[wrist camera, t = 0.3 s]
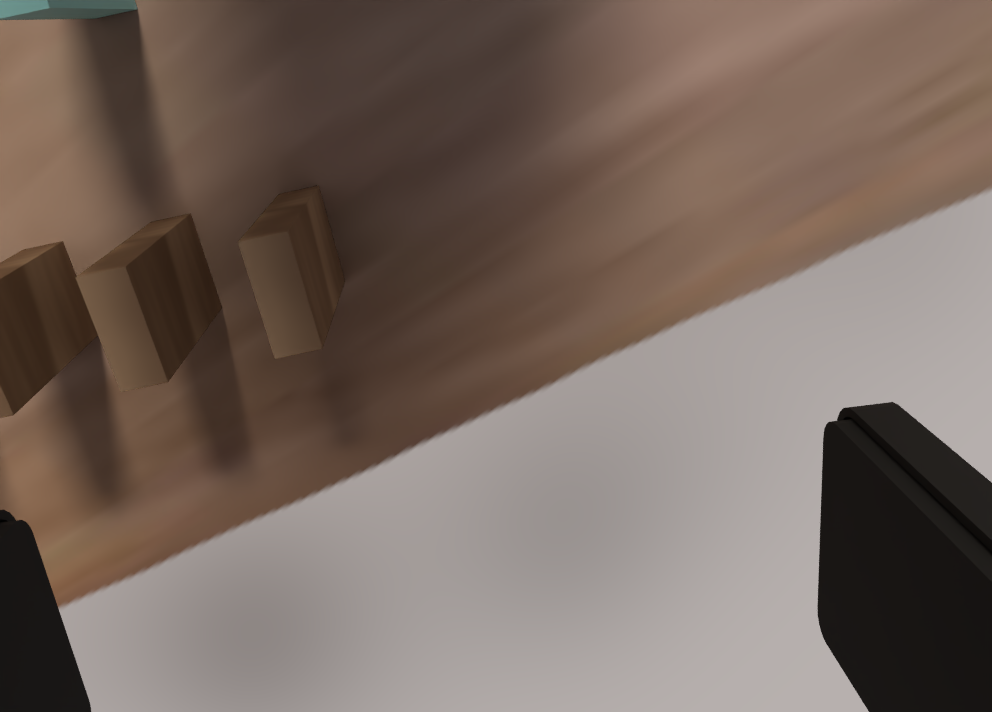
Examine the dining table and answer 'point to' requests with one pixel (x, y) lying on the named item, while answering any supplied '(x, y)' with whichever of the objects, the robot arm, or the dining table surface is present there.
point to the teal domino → (62, 9)
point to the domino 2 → (151, 301)
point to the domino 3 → (294, 271)
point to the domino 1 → (38, 322)
